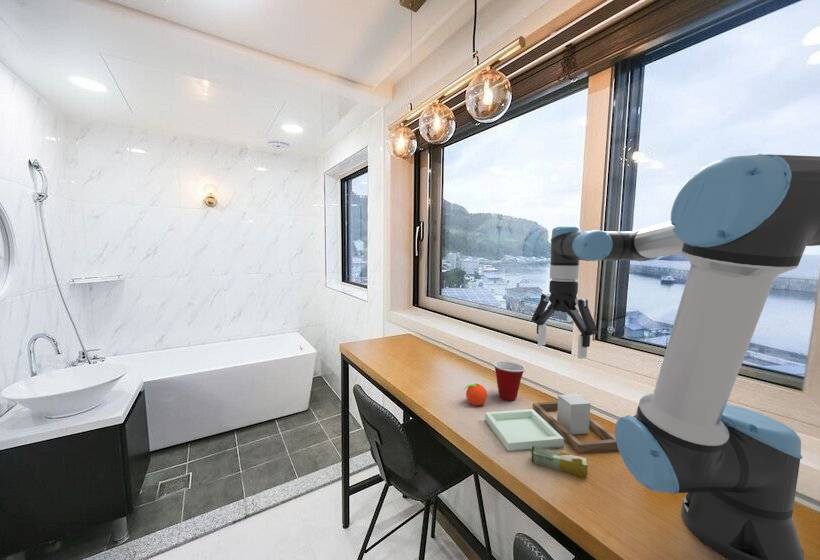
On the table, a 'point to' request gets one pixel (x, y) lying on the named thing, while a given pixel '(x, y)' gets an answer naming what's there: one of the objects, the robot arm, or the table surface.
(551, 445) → the tray
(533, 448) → the medication box
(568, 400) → the stone block
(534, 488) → the table surface
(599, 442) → the brown wooden frame
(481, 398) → the clementine
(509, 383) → the plastic cup
